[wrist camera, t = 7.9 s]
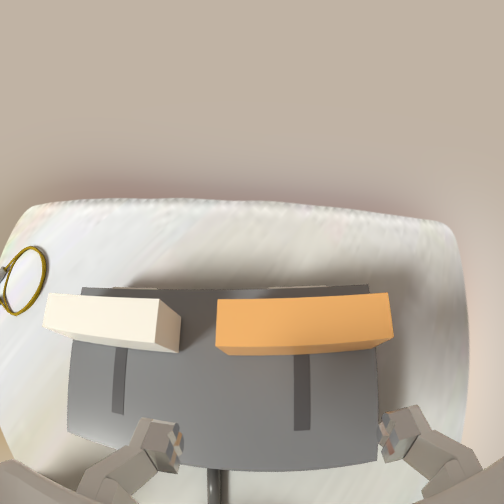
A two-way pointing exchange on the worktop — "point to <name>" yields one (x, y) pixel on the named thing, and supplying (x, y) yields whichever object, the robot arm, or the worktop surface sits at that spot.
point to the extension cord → (1, 273)
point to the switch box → (229, 393)
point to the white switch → (114, 321)
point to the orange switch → (303, 324)
